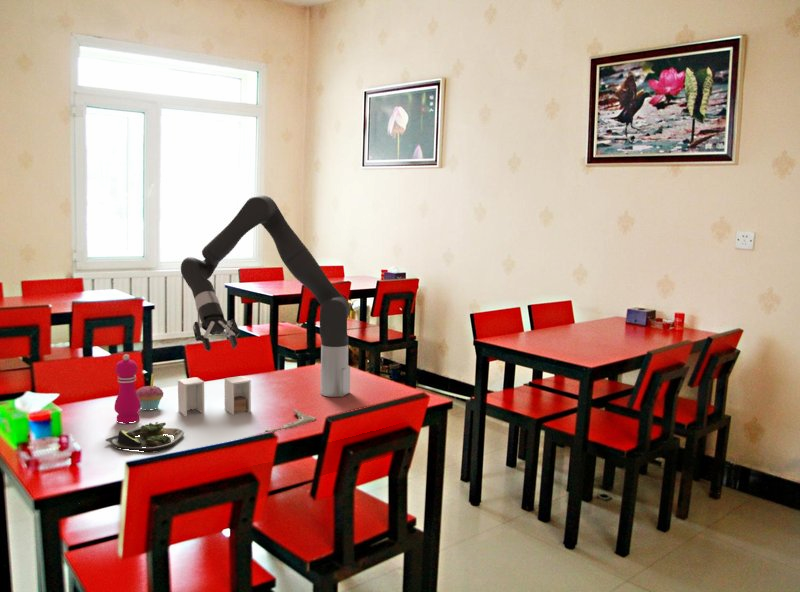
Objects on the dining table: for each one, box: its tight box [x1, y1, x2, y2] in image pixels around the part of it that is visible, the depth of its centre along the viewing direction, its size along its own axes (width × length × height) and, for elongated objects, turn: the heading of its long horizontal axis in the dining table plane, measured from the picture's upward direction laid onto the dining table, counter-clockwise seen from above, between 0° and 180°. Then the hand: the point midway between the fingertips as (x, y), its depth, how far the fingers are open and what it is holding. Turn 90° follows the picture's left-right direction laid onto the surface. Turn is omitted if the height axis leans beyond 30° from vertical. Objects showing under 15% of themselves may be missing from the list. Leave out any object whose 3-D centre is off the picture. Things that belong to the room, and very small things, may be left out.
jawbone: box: [264, 408, 317, 433], centre depth 204 cm, size 9×20×2 cm, turn 164°
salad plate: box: [105, 421, 185, 453], centre depth 189 cm, size 19×18×5 cm
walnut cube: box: [234, 396, 247, 414], centre depth 216 cm, size 4×4×4 cm
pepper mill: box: [114, 354, 141, 423], centre depth 202 cm, size 7×7×20 cm
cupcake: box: [135, 372, 164, 410], centre depth 215 cm, size 9×8×12 cm
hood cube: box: [224, 375, 252, 416], centre depth 215 cm, size 6×6×10 cm
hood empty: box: [177, 376, 205, 417], centre depth 212 cm, size 6×6×10 cm
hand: (222, 348), depth 223 cm, fingers open, 8 cm apart
